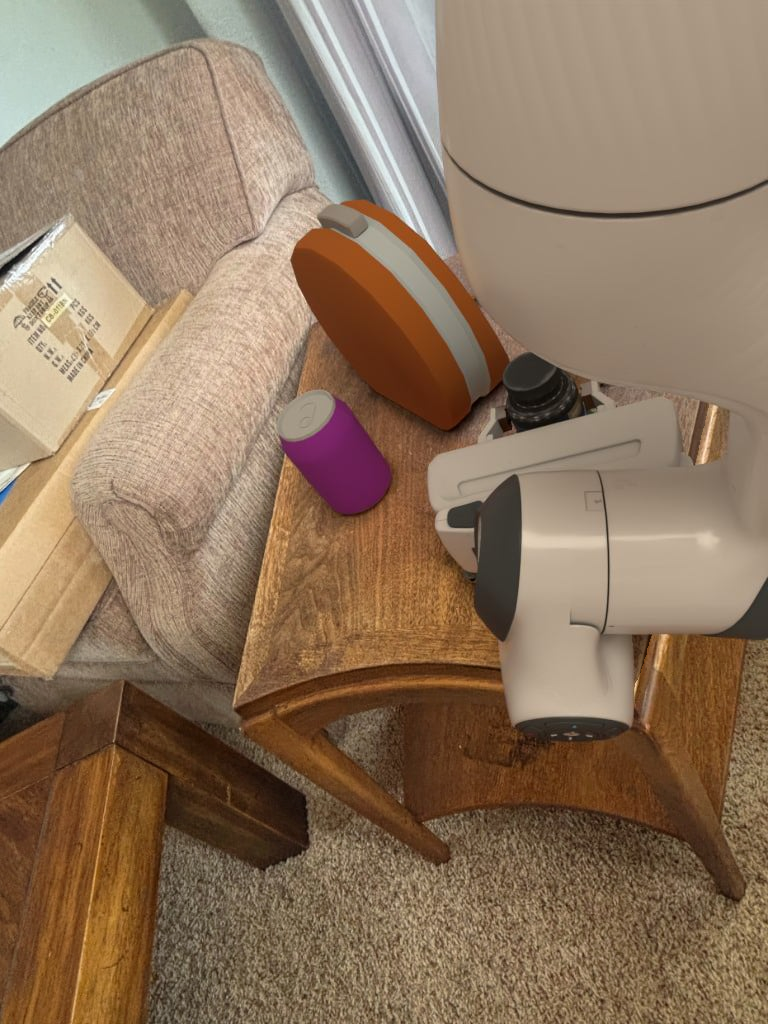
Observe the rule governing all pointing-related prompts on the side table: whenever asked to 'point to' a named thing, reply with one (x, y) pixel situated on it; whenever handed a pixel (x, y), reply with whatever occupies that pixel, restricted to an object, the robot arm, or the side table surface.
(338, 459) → the beverage can
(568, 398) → the pill bottle
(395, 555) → the side table surface
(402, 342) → the alarm clock
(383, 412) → the side table surface
